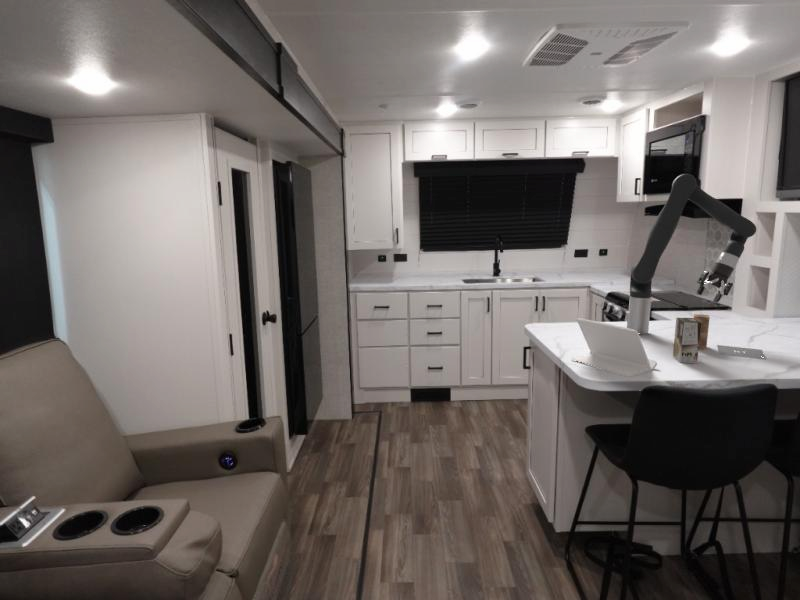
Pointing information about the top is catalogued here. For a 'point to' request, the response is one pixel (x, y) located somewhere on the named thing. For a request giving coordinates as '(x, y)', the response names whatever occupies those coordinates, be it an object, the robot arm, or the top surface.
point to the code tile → (741, 352)
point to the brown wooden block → (703, 329)
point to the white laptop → (614, 349)
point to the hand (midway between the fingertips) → (706, 298)
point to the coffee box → (686, 340)
